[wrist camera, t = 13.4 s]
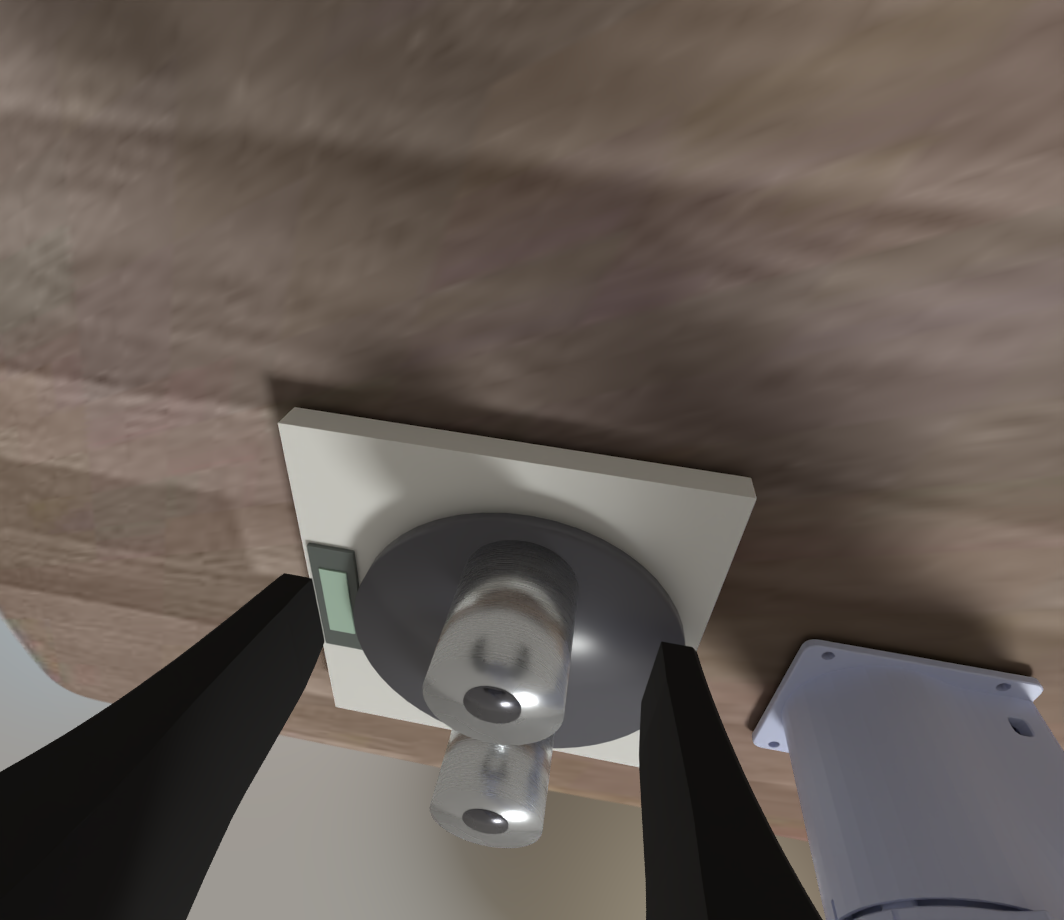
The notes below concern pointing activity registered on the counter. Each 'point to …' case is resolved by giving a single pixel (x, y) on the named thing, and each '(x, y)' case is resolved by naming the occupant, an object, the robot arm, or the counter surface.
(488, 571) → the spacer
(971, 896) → the robot arm
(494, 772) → the cylinder
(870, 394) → the counter surface
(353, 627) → the scale base
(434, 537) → the scale pan
